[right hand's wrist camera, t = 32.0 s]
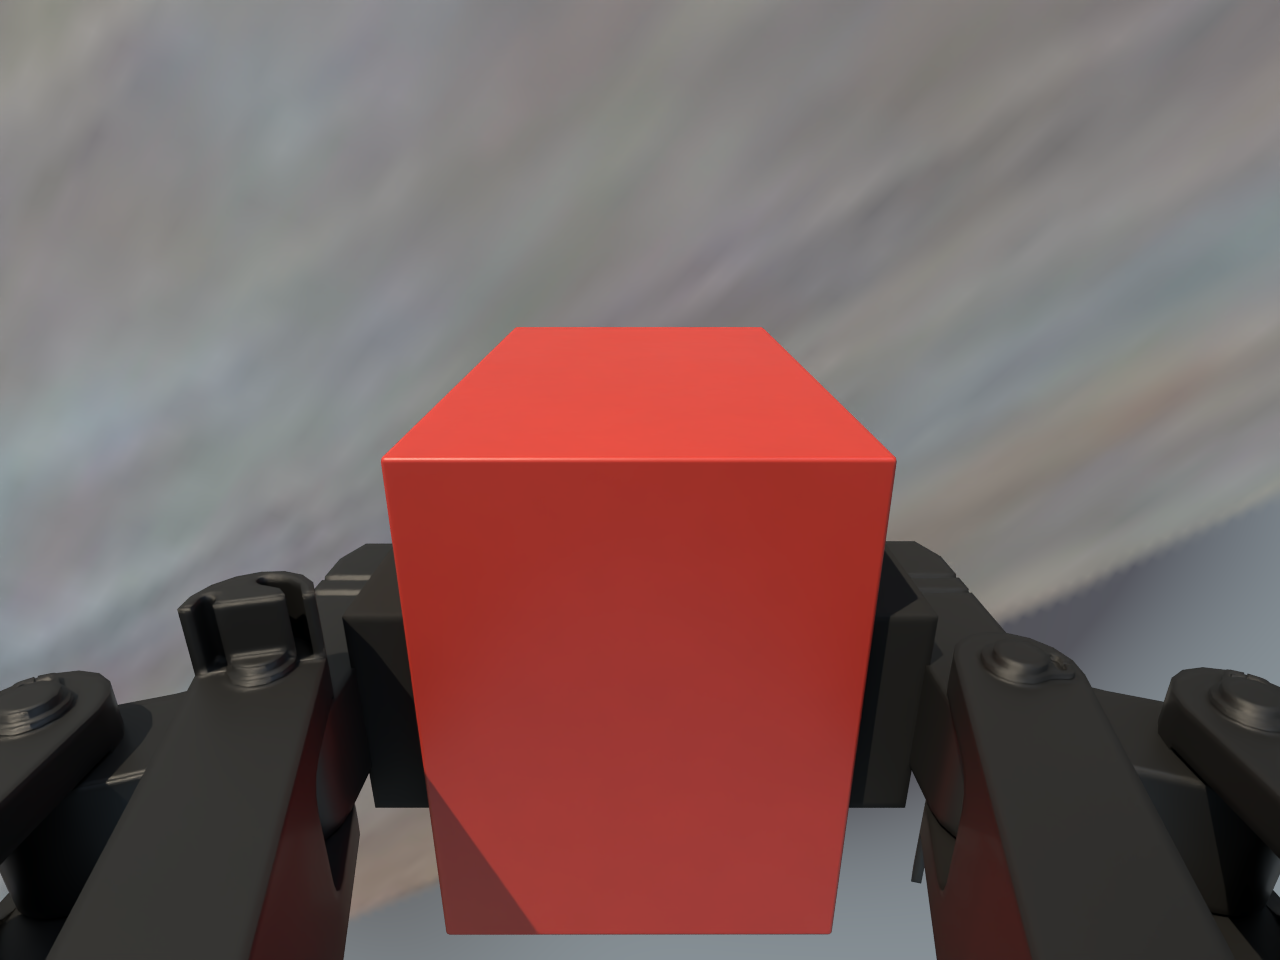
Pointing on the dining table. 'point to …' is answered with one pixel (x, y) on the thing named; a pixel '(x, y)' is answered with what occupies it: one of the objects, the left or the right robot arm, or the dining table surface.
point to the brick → (638, 630)
